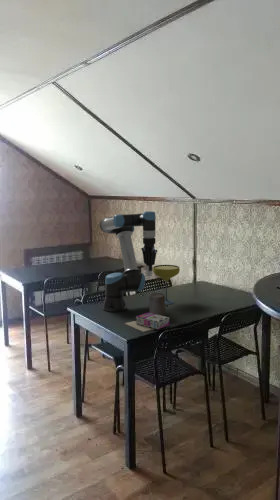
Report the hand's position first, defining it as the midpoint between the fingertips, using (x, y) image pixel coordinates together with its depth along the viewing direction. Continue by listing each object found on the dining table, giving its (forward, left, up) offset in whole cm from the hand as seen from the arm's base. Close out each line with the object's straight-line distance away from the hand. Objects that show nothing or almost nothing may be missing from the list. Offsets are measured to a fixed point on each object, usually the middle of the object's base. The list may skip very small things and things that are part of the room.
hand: (149, 275), depth 270 cm
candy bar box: (+5, -10, -23) cm, 26 cm away
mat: (+10, -10, -26) cm, 30 cm away
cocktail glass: (-21, +31, -27) cm, 46 cm away
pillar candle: (0, +6, -27) cm, 27 cm away
